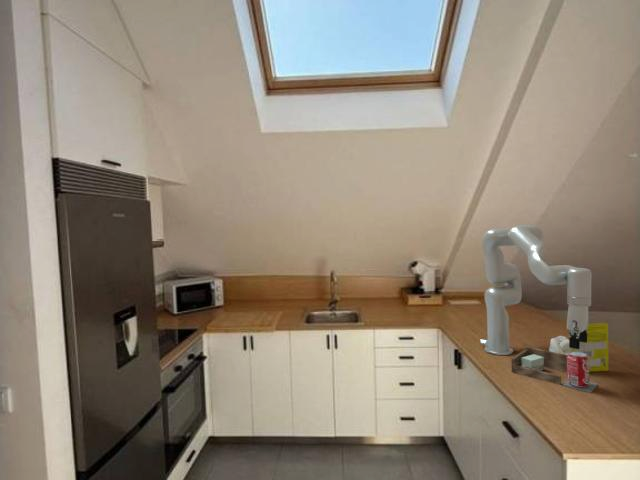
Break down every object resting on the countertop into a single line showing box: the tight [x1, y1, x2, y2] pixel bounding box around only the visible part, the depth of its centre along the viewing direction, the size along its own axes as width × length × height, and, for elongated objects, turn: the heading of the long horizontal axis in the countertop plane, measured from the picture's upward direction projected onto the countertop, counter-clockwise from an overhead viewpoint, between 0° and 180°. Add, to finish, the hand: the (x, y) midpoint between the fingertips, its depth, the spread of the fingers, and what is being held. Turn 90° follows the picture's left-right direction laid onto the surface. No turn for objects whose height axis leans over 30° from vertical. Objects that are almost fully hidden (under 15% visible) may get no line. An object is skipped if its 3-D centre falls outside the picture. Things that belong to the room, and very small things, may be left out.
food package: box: [572, 322, 609, 373], centre depth 157 cm, size 15×1×20 cm, turn 92°
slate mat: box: [562, 380, 598, 394], centre depth 145 cm, size 9×9×1 cm
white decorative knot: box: [548, 335, 572, 355], centre depth 174 cm, size 11×12×9 cm
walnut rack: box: [511, 346, 568, 385], centre depth 159 cm, size 18×16×7 cm
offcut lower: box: [521, 365, 544, 372], centre depth 161 cm, size 5×9×3 cm, turn 127°
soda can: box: [566, 351, 590, 388], centre depth 144 cm, size 7×7×12 cm
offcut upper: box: [522, 354, 544, 368], centre depth 161 cm, size 4×8×3 cm, turn 116°
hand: (578, 344), depth 145 cm, fingers open, 9 cm apart
